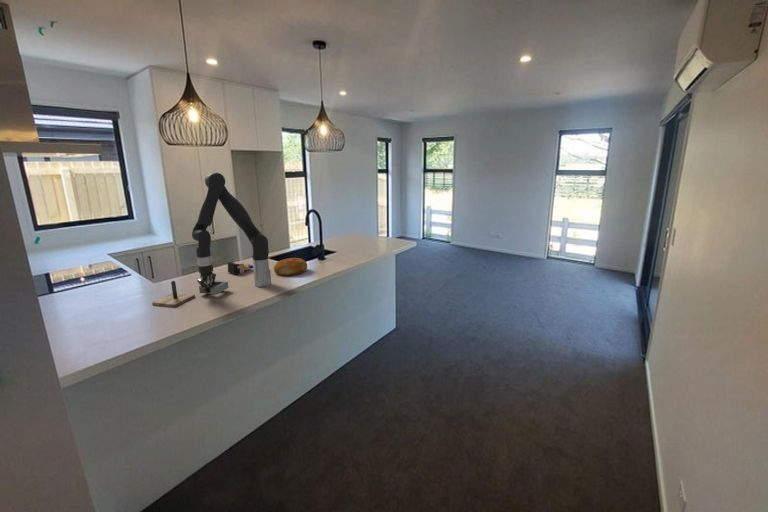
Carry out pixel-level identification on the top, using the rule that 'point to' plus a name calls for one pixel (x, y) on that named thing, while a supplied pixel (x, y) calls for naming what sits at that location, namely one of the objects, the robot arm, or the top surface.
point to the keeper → (173, 298)
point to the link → (215, 287)
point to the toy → (238, 267)
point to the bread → (290, 266)
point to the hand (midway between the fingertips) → (209, 292)
